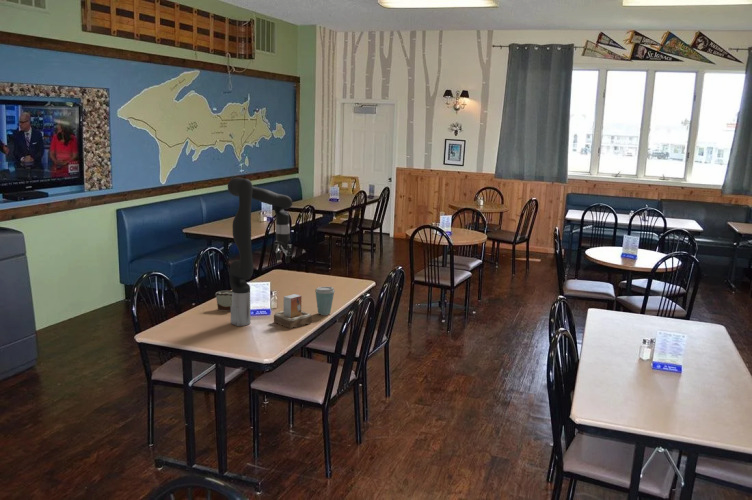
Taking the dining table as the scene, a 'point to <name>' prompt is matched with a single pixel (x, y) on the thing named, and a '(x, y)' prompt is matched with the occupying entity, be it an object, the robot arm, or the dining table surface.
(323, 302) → the disposable coffee cup
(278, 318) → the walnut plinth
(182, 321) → the dining table surface
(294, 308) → the small box
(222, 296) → the food container
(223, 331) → the dining table surface
